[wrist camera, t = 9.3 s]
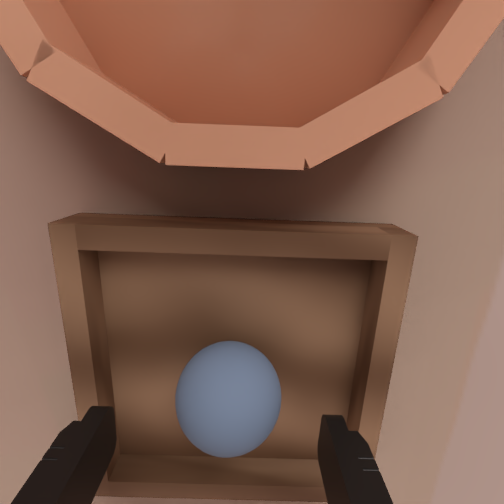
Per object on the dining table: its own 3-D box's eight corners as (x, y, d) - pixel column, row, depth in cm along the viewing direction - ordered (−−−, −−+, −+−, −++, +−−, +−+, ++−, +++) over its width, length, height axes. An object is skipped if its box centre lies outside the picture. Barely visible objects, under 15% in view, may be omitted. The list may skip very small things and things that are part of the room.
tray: (352, 460, 18) (366, 503, 16) (109, 454, 18) (90, 495, 16) (392, 224, 14) (418, 236, 12) (79, 212, 14) (47, 223, 12)
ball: (245, 412, 16) (232, 503, 12) (175, 365, 16) (136, 443, 11) (300, 358, 15) (307, 438, 11) (226, 304, 14) (202, 367, 10)
